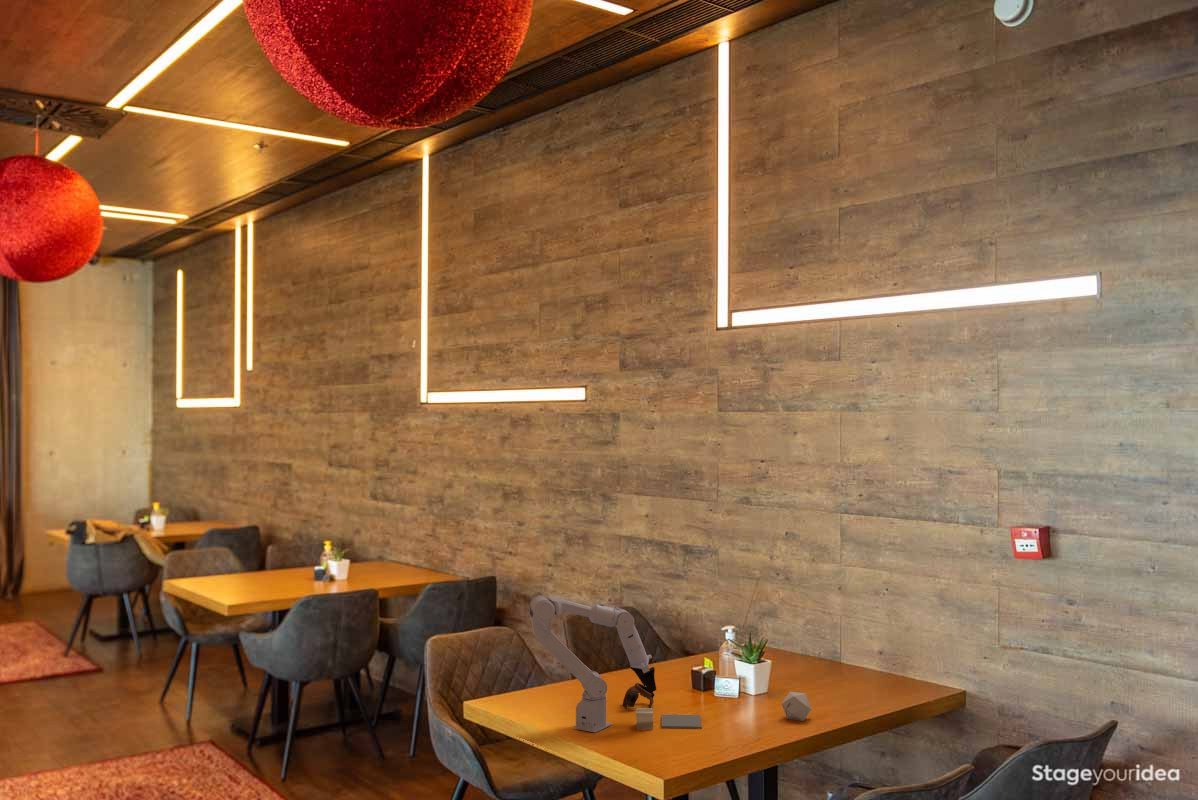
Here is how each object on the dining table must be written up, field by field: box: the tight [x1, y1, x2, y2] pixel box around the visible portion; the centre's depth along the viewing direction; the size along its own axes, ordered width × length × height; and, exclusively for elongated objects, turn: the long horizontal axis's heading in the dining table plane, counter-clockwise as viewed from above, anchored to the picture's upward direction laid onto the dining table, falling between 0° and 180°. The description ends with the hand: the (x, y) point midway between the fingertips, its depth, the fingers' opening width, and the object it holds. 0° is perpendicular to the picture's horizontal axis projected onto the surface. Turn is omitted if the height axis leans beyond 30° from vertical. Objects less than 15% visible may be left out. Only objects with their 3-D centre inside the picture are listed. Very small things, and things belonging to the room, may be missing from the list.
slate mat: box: [661, 714, 703, 730], centre depth 303 cm, size 12×12×1 cm
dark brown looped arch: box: [622, 682, 655, 709], centre depth 320 cm, size 12×10×8 cm
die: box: [781, 691, 813, 722], centre depth 307 cm, size 8×9×10 cm
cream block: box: [635, 707, 654, 731], centre depth 299 cm, size 5×5×5 cm
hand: (650, 687), depth 303 cm, fingers open, 7 cm apart
